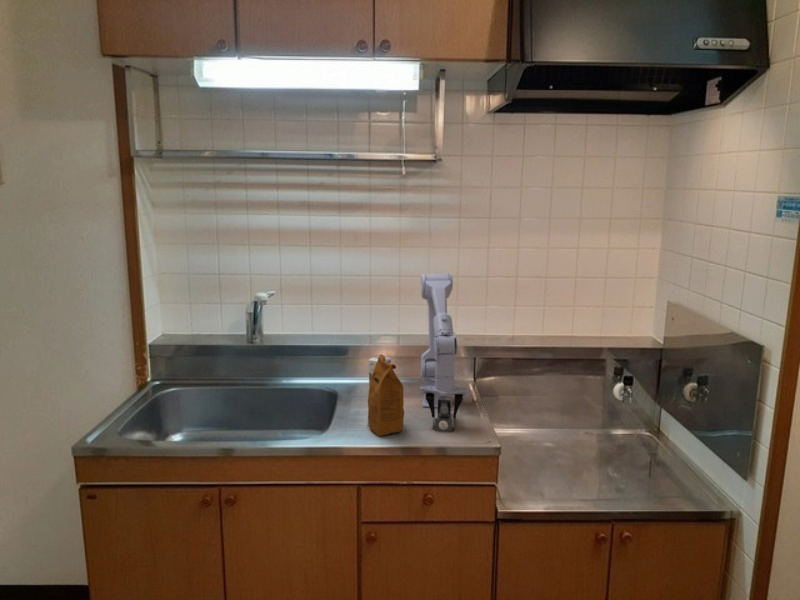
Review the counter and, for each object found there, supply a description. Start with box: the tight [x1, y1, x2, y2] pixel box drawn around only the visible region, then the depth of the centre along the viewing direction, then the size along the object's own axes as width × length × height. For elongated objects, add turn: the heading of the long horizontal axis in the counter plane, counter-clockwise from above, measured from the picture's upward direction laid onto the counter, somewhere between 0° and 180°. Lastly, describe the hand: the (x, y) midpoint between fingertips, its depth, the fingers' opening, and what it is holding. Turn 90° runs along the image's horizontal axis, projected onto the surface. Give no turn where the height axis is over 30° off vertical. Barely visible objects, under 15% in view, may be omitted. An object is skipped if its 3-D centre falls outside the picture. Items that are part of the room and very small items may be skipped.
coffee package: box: [367, 354, 405, 437], centre depth 176 cm, size 10×12×22 cm
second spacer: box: [437, 399, 452, 419], centre depth 179 cm, size 4×4×6 cm
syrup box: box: [368, 355, 392, 388], centre depth 201 cm, size 6×6×14 cm
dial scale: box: [432, 411, 456, 433], centre depth 181 cm, size 11×7×4 cm, turn 173°
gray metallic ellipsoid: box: [438, 395, 452, 401], centre depth 183 cm, size 4×4×6 cm
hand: (443, 416), depth 179 cm, fingers open, 6 cm apart
